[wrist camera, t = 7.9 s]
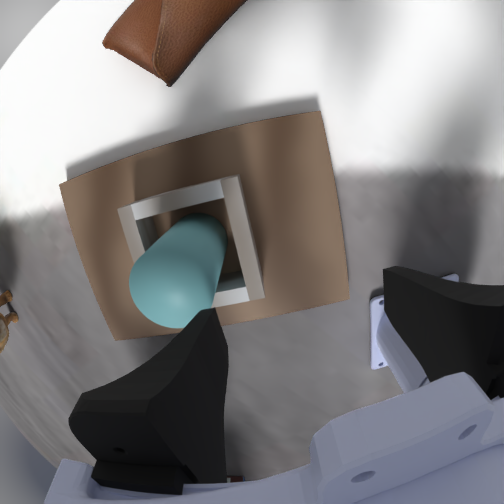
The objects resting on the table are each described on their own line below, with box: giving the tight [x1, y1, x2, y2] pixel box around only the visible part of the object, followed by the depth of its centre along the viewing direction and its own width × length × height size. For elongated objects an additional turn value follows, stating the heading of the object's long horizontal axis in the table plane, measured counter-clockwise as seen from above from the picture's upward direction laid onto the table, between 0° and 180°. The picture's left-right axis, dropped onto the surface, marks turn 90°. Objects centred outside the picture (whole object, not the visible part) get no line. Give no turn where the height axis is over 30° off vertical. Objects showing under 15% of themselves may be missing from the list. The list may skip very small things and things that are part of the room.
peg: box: [129, 213, 228, 328], centre depth 17 cm, size 4×4×8 cm
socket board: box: [59, 111, 350, 341], centre depth 20 cm, size 20×14×4 cm
